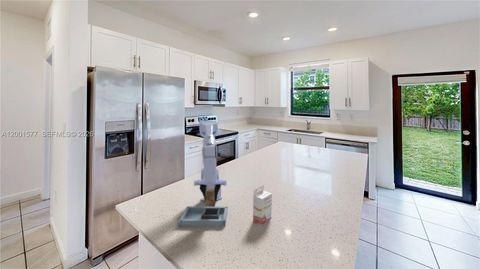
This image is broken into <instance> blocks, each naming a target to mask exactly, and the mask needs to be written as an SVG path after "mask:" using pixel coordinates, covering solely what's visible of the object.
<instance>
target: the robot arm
mask: <svg viewBox="0 0 480 269" xmlns="http://www.w3.org/2000/svg"><path fill="white" fill-rule="evenodd" d="M198 124H199V126H198V128H199V135H200V137H203V138H202V143H203V144H202V147H201V156H202V163H203V168H202V169H201V171H200V179H195V180H194V181H193V186H194V187H195V186H196V187H197V186H199V190H200V192H201V194H202V197H201V198H200V200H201V201H203V202H204V203H206V195H205V191H206V189H207V188H214V189H215V201H216V202H217V201H219V200H221V199H222V198H223V196H222V186H224V187H227V185H228V184H227V183H228V182H227V181H228V180H227V179H226V180H225V179H220V173H219V169H218V168H217V157H218V146H217V144H216V137H217V135H218V130H219V129H218V128H219V127H218V126H219V124H218V120H199V123H198Z"/></svg>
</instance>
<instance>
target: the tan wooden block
mask: <svg viewBox="0 0 480 269" xmlns="http://www.w3.org/2000/svg"><path fill="white" fill-rule="evenodd" d="M205 195H206V202H205V207H216V204H217V201H215V189H214V188H207V189H206V191H205Z"/></svg>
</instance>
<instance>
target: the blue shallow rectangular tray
mask: <svg viewBox="0 0 480 269" xmlns="http://www.w3.org/2000/svg"><path fill="white" fill-rule="evenodd" d="M228 209H229V208H228V206H215V207H206V206H186V207H185V209H184V211H183V212H182V214H181V216H180V218H179V220H178V226H179V227H226V224H227V218H228V217H227V216H228V211H229V210H228Z"/></svg>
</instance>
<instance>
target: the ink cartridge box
mask: <svg viewBox="0 0 480 269" xmlns="http://www.w3.org/2000/svg"><path fill="white" fill-rule="evenodd" d="M264 188H265V184H263V185H261V186H259V187H257V188H254V189H253V197H252V198H253V200H252V209H253V210H252V221H253V222H255V223H257V224H260V225H263V224H264V223H266V221H268V220H269V219H270V218H272V208H273V207H272V201H273V200H272V198H273V193H272V192H269V191H266V190H265V189H264Z"/></svg>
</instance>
